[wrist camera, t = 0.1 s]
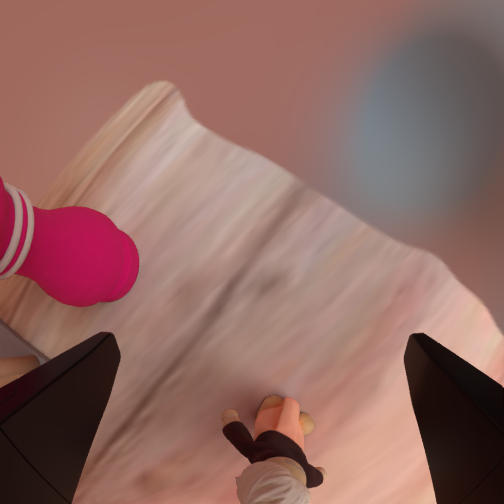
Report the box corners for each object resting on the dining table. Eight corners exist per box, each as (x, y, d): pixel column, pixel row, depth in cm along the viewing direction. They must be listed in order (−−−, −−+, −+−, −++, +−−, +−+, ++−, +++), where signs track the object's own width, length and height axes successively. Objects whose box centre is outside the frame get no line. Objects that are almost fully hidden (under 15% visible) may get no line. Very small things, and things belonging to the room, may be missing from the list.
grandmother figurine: (335, 413, 22) (378, 498, 10) (311, 453, 22) (330, 555, 9) (244, 373, 23) (207, 434, 11) (222, 414, 23) (170, 497, 10)
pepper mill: (162, 253, 25) (-52, 140, 6) (115, 325, 25) (-114, 325, 5) (104, 208, 27) (-75, 92, 7) (62, 274, 26) (-132, 224, 6)
